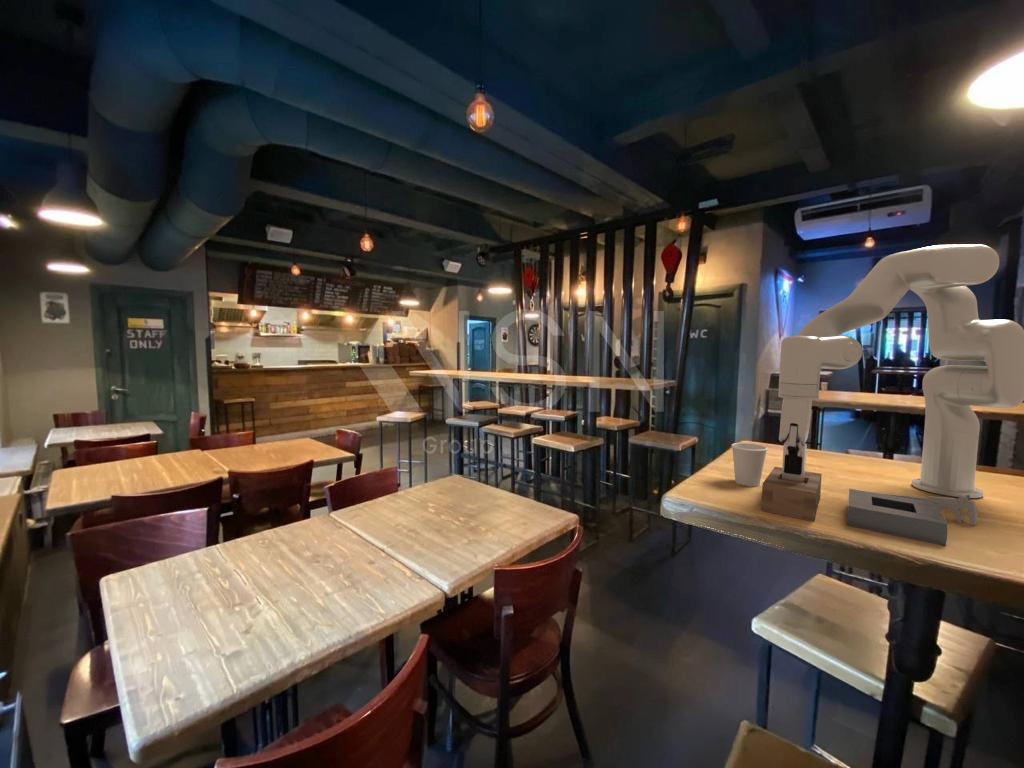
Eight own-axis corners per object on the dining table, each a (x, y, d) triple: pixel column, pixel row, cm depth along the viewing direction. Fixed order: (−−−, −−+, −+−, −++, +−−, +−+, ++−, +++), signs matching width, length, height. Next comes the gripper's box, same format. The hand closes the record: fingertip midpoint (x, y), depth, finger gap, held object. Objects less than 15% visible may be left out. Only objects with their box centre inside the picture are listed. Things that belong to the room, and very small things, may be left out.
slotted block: (773, 489, 106) (774, 466, 106) (820, 498, 100) (821, 473, 100) (761, 510, 92) (762, 483, 92) (814, 521, 86) (815, 493, 86)
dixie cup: (736, 487, 108) (738, 449, 108) (725, 477, 117) (726, 442, 116) (771, 489, 107) (773, 450, 106) (757, 479, 115) (759, 443, 115)
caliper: (976, 526, 85) (979, 496, 85) (973, 527, 85) (976, 497, 84) (859, 495, 104) (860, 470, 103) (856, 495, 103) (858, 470, 103)
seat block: (848, 505, 96) (849, 488, 95) (934, 521, 87) (936, 502, 86) (846, 525, 85) (848, 505, 84) (946, 545, 76) (947, 524, 76)
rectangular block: (782, 499, 99) (785, 441, 98) (803, 503, 97) (806, 443, 96) (780, 504, 96) (783, 444, 95) (801, 508, 94) (805, 446, 93)
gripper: (783, 388, 103) (779, 461, 105) (773, 393, 90) (768, 476, 92) (821, 390, 99) (816, 466, 100) (816, 395, 86) (810, 483, 87)
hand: (793, 470), depth 96 cm, fingers closed on rectangular block, 4 cm apart
